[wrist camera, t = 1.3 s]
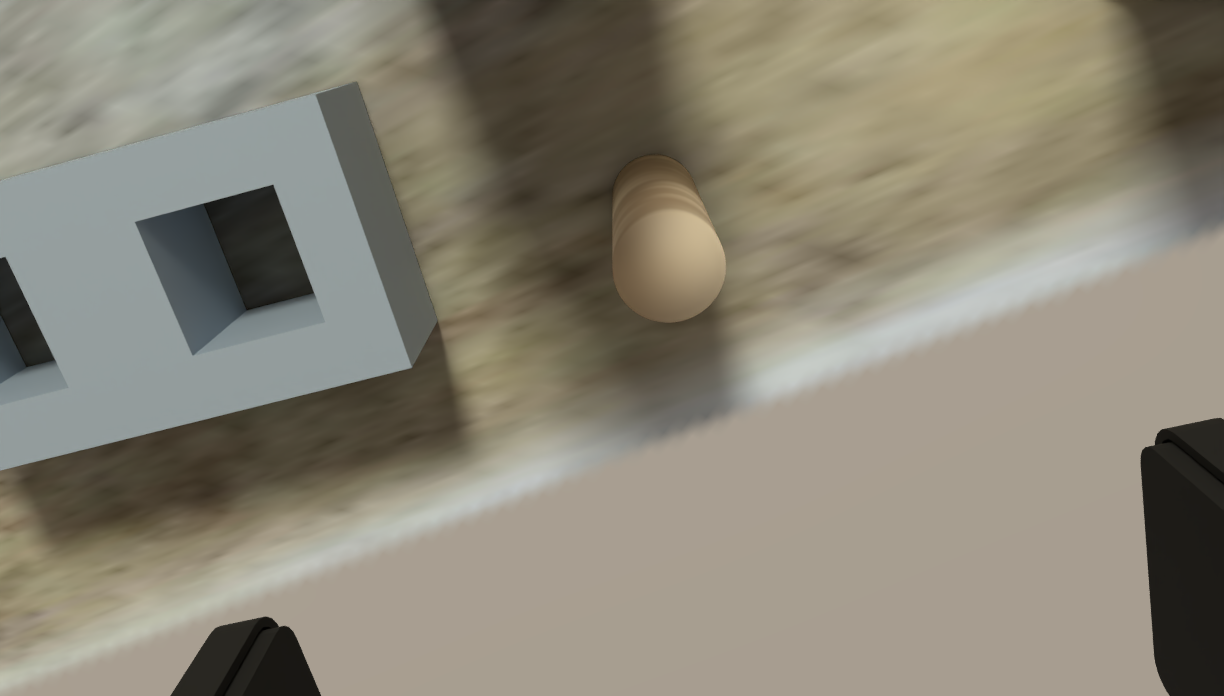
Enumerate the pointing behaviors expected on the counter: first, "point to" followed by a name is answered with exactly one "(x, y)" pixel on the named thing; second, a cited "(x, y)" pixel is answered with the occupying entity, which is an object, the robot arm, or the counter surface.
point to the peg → (663, 242)
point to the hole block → (202, 278)
